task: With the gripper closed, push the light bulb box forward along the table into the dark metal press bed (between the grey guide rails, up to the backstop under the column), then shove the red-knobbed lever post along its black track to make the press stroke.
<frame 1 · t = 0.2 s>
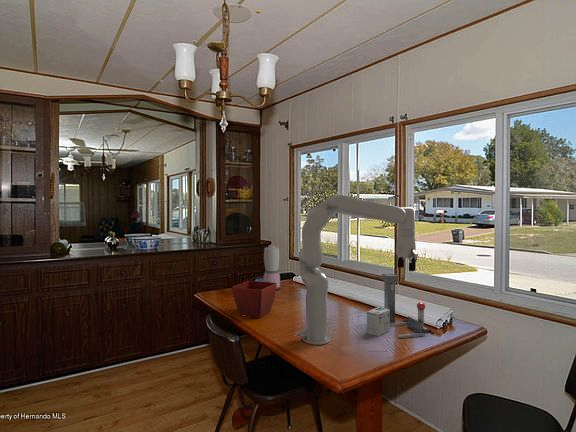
hand: (406, 269, 167), 31 cm above the table, fingers open, 9 cm apart
lever: (420, 315, 172), point 7 cm above the table, slide at 0.0 cm
press frame: (402, 331, 170), on the table
blender: (272, 288, 261), on the table
light bulb box: (378, 332, 169), on the table
lever track: (420, 329, 172), on the table
plant pot: (254, 314, 198), on the table
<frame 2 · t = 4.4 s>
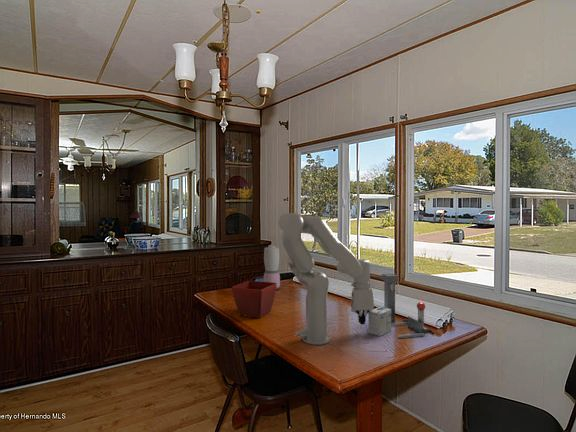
hand: (362, 323, 167), 5 cm above the table, fingers closed
light bulb box: (379, 332, 169), on the table, touching gripper
everything else where it was.
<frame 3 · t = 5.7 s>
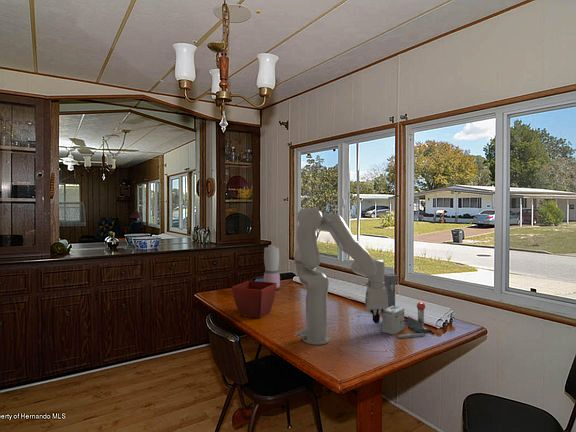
hand: (376, 322, 169), 5 cm above the table, fingers closed
light bulb box: (393, 331, 171), on the table, touching gripper
everything else where it was.
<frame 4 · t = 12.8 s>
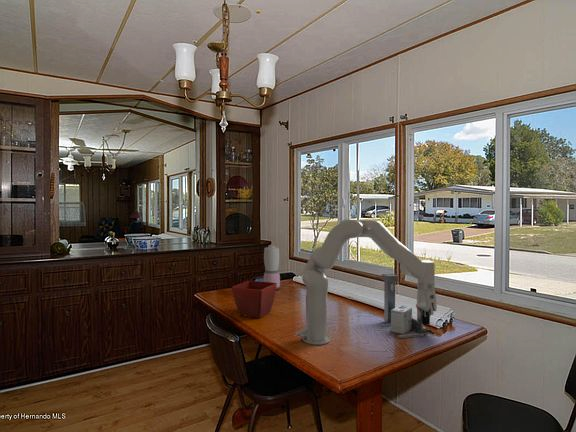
hand: (425, 324, 168), 4 cm above the table, fingers closed
lever: (420, 315, 173), point 7 cm above the table, slide at 0.7 cm, touching gripper
light bulb box: (401, 330, 172), on the table
everything else where it was.
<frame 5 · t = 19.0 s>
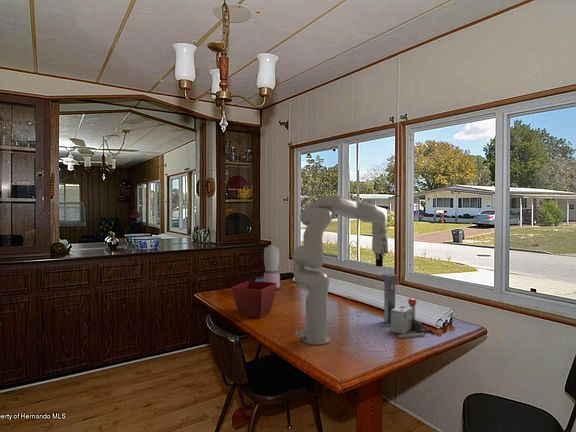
hand: (379, 266, 186), 29 cm above the table, fingers closed
lever: (412, 311, 180), point 7 cm above the table, slide at 8.0 cm
everything else where it was.
at the end: light bulb box 1.7 cm from the press frame (horizontally); light bulb box tilted 0°; lever slide at 8.0 cm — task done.
